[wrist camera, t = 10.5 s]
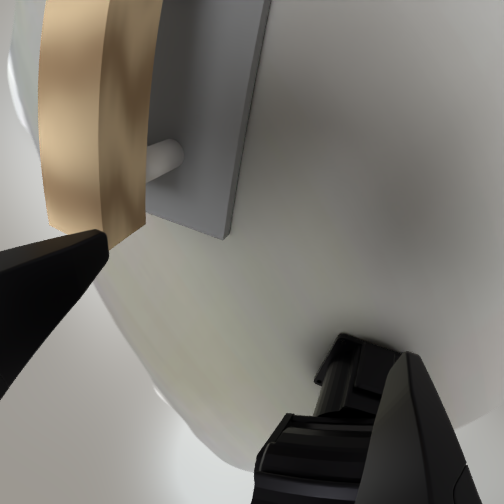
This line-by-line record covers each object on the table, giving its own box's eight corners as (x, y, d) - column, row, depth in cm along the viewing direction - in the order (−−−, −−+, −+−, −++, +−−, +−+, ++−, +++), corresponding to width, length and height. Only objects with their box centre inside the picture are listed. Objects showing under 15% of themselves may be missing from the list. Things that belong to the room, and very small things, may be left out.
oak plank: (145, 224, 18) (105, 253, 15) (88, 202, 19) (49, 225, 16) (184, -87, 8) (139, -110, 5) (111, -68, 9) (66, -79, 6)
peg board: (229, 233, 22) (193, 271, 18) (103, 189, 25) (60, 213, 21) (288, -82, 10) (258, -121, 6) (130, -64, 12) (82, -78, 8)
